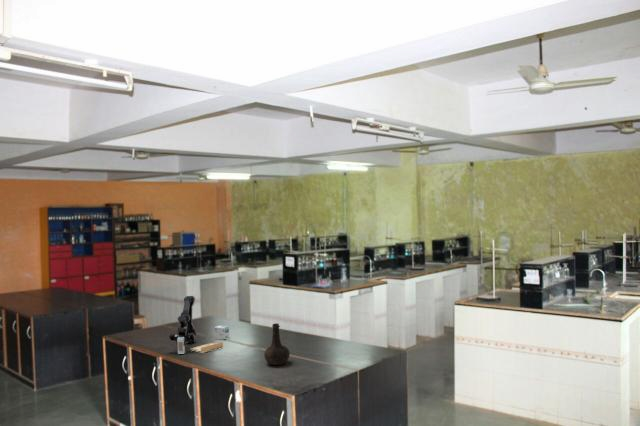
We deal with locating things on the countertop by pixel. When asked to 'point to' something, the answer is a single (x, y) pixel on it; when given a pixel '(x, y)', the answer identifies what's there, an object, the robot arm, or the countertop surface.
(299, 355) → the countertop surface
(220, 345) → the price rail
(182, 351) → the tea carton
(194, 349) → the shelf board
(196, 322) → the countertop surface
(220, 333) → the light bulb box
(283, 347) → the glass bottle
